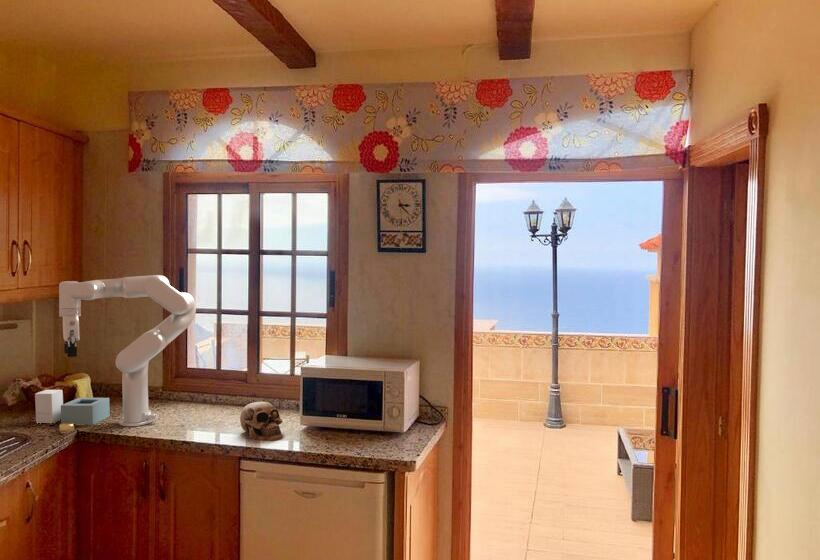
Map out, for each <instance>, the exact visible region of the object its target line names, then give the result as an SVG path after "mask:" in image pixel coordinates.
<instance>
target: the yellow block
mask: <svg viewBox="0 0 820 560" xmlns="http://www.w3.org/2000/svg"><path fill="white" fill-rule="evenodd" d="M58 425H59V433H60V432H71V431H74V432H75V425H74V423H72V422H68V423H62V424H61V423H60V424H58ZM71 433H72V432H71Z"/></svg>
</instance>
